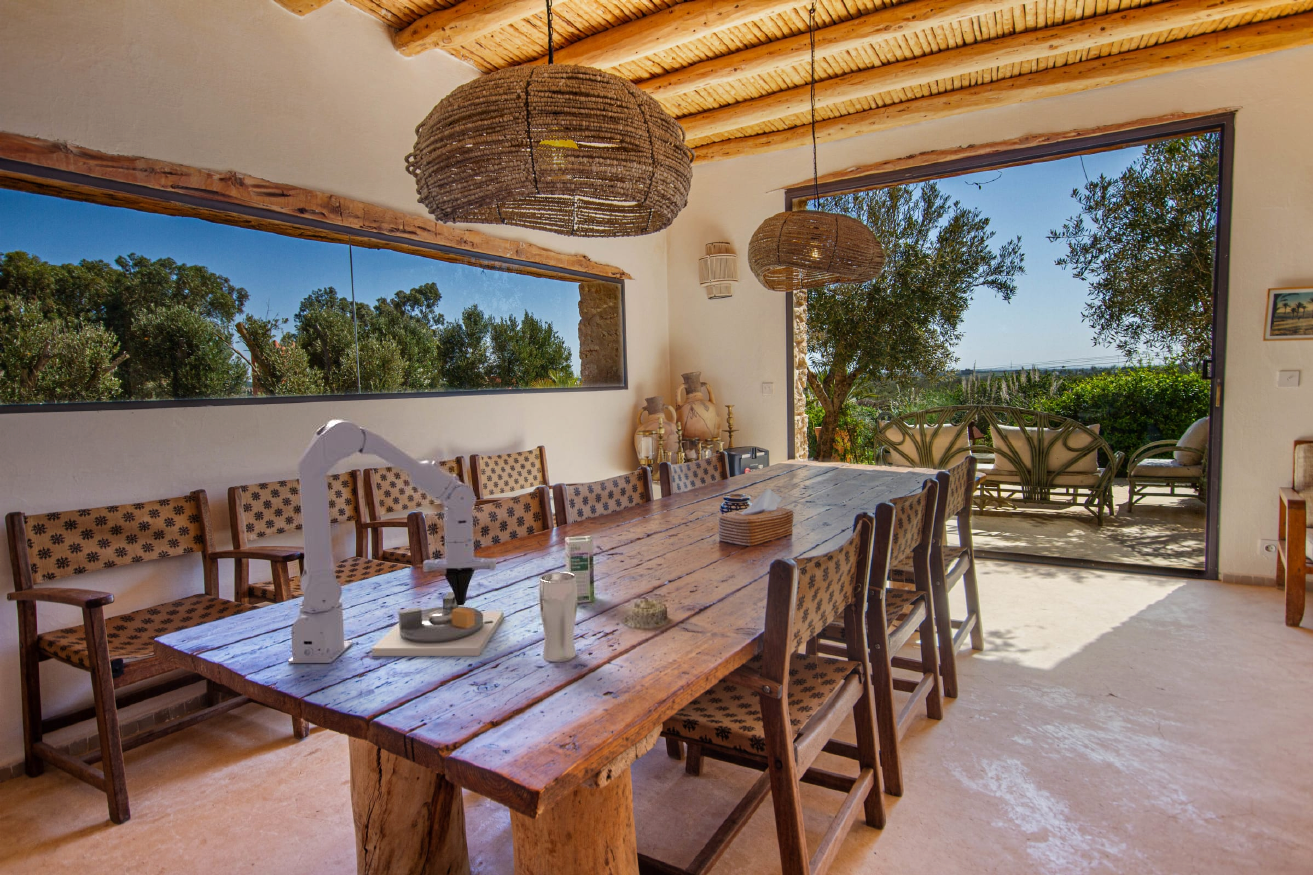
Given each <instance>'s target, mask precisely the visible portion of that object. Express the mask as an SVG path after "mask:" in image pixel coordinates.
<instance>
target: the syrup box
mask: <svg viewBox="0 0 1313 875" xmlns="http://www.w3.org/2000/svg"><path fill="white" fill-rule="evenodd" d="M564 547H565V548H564V550H565V572H569V573H572V574H575V576H576V585H577V604H583V603H584V604H585V603H594V602H595V574H594V572H595V571H594V568H595V567H594V564H595V563H594V540H593V538H592V537H591V536H590V535H584V536H570V537H569V536H566V537H565V538H564Z"/></svg>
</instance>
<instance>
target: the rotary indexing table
mask: <svg viewBox="0 0 1313 875" xmlns="http://www.w3.org/2000/svg"><path fill="white" fill-rule="evenodd" d="M480 611H481V610H478V609H476V608H474V607H470V606H469V607H468V606H463V605H457V603H456V599H455V595H454V593H453V591H452V592H451V591H450V592H447V593H446V595H444V597H443V598H442V606H438V607H431V608H426V609H423V610H422V609H421V607H419V606H417V607H412V608H406V609H405V608H404V609H400V610H398V623H399V631H400V635H401V637H402V638H404V639H406V640H409V641H413V642H420V643H438V642H447V641H452V640H457V639H461V638H464V637H467V636H469V635H472V634H474V633H476V632H477V631H479V630H480V629H481V628H482V626H483V614H482V613H481V612H480Z"/></svg>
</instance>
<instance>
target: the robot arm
mask: <svg viewBox="0 0 1313 875" xmlns="http://www.w3.org/2000/svg"><path fill="white" fill-rule="evenodd" d="M357 453H359V454H361V455H372V456H373V455H374V456H377V457H378V458H380V459H382V460H383V461H385V462H387V463H389V464H391V465H392V466H394V467H395V468H397V469H399V470H400V471H402V472H403V473H406V474H407V475H408V477H409V482H410V485H412V486H413V487H415V488H416V489H418V490H420V491H422V492H423V493H424V494H426V495H427V496H429V497H431V498H433V499H434V500H436V501H440V503H441V505H442V506H444V507H443V511H444V512H443V515H444V517H443V528H444V529H443V530H444V557H445V558H437V559H435V558H434V559H426V560H424V561H423V562H422V570H423V572H430V571H445V574H444V576H445V579H446V582H447V583H448V584H449V587H450V588H451V590H452V592H453V593H454V595H455V599H456V603H457V605H459V606H464V605H465V604H466V600H467V592H468V589H469V585H470V582H471V580H472V578H473V575H474V573H475V571H476V570H479V571H480V570H489V571H495V570H496V568H497V558H485V557H475V551H474V550H475V549H474V546H475V545H474V517H473V508H474V506H475V504H476V503H477V496H475V495H476V494H475V492H474V490H473V488H472V487H471V486H470V485H468V484H465V483H463V482H461V480H459V479H460V477H459V476H458V475H456V474H453V475H451V474H450V473H449V472H447V471H445V470H444V469H442V468H440V463H438V462H437V461H435V460H433V461H430V460H422V461H421V460H420V461H418V460H416V459H414V458H413V457H411V456H410V455H408V454H407V453H406V452H404V451H403V450H401V449H400V448H398V447H397V446H395V445H394V444H393V443H390V441H388V440H387V439H385V438H384V437H382V436H381V435H379V434H377V433H374V432H373V431H370V430H368V429H365V428H363V427H360V426H359V425H357V424H355V423H353V422H351V421H348V420H345V419H341V418H336V419H331V420H330V421H328V422H326V423H324V425H323V426H321V427H319V429H317V430H316V431H315V433H314V435H313V437H312V439H311V441H310V442H309V443H308V446H307V447H306V448H305V450H304V452H303V453H302V454H301V456H300V457H299V460H298V464H297V467H298V468H297V469H298V471H297V472H298V481H299V483H298V484H299V496H300V512H301V513H300V515H301V524H302V525H301V526H302V539H303V540H302V541H303V550H304V551H303V553H304V554H303V555H304V556H303V557H304V558H303V572H302V574H301V577H300V580H299V584H298V585H299V588H300V591H301V592H302V594H303V600H302V601H301V603H300V604H299V615H298V617H297V619H296V620H295V622H294V623H293V624H292V626H291V631H290V632H291V633H290V634H291V651H292V652H291V654H292V657H290V658H289V659H287V663H289V664H330V663H333V661H334V660H336V659H337V658H338V657H339V656H340V655H341V654H342V653H344V652H346V651H347V649H349V647H351V646H352V645H353V644H354V641H353V640H345V633H344V632H345V631H344V630H345V629H344V611H343V608H344V607H343V600H342V598H341V597H342V594H343V592H342V591H343V589H342V586H341V584H340V582H339V580H338V579H337V577H336V571H335V570H336V569H335V564H334V557H333V548H332V547H333V546H332V532H331V530H332V529H331V518H330V502H329V487H328V472H329V471H330V470H332V469H333V467H335V466H336V465H337V464H338V463H339V462H340V461H342V460H345V459H346V458H348V457H351V456H353V455H354V454H357Z"/></svg>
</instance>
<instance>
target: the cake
mask: <svg viewBox="0 0 1313 875" xmlns="http://www.w3.org/2000/svg"><path fill="white" fill-rule="evenodd" d="M633 604H634V607H633V608H630V609H629V610H628V613H627V614H625V615H624V616H623V618H622V623H623V624H624V625H625V626H627V627H629V628H632V629H655V628H654V627H658V628H661V626H662V627H663V626H665V625H667V624H668V623H669V622H670V620H669V617H668V607H667V605H666V603H663V602H660V601H658V600H655V599H654V600H653V599H648V598H647V597H646V598H645V597H644V599H637V600H636V601H634V602H633Z"/></svg>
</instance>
